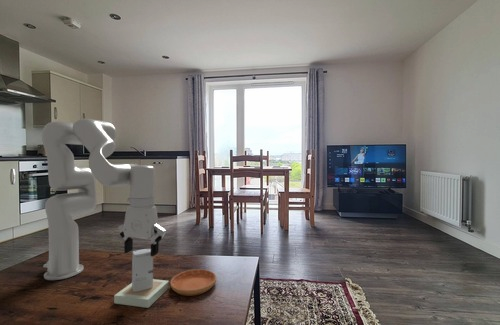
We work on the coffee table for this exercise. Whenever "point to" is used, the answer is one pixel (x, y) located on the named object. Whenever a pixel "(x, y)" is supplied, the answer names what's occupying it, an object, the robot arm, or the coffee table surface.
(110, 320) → the coffee table surface
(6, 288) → the coffee table surface
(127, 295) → the picture frame
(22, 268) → the coffee table surface
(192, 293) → the saucer
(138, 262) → the skincare box
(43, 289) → the coffee table surface
